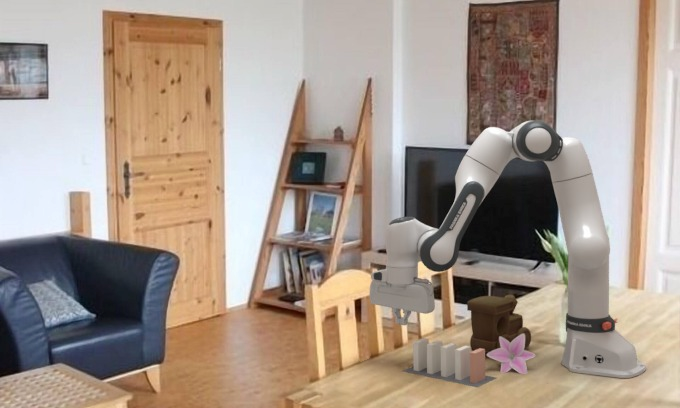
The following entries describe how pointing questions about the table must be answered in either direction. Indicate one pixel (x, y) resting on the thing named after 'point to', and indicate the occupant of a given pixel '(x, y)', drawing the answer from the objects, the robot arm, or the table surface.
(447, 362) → the domino
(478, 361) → the domino
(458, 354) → the domino
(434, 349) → the domino
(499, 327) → the wooden toy train
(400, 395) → the table surface
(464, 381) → the domino mat
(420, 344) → the domino
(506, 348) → the lily
